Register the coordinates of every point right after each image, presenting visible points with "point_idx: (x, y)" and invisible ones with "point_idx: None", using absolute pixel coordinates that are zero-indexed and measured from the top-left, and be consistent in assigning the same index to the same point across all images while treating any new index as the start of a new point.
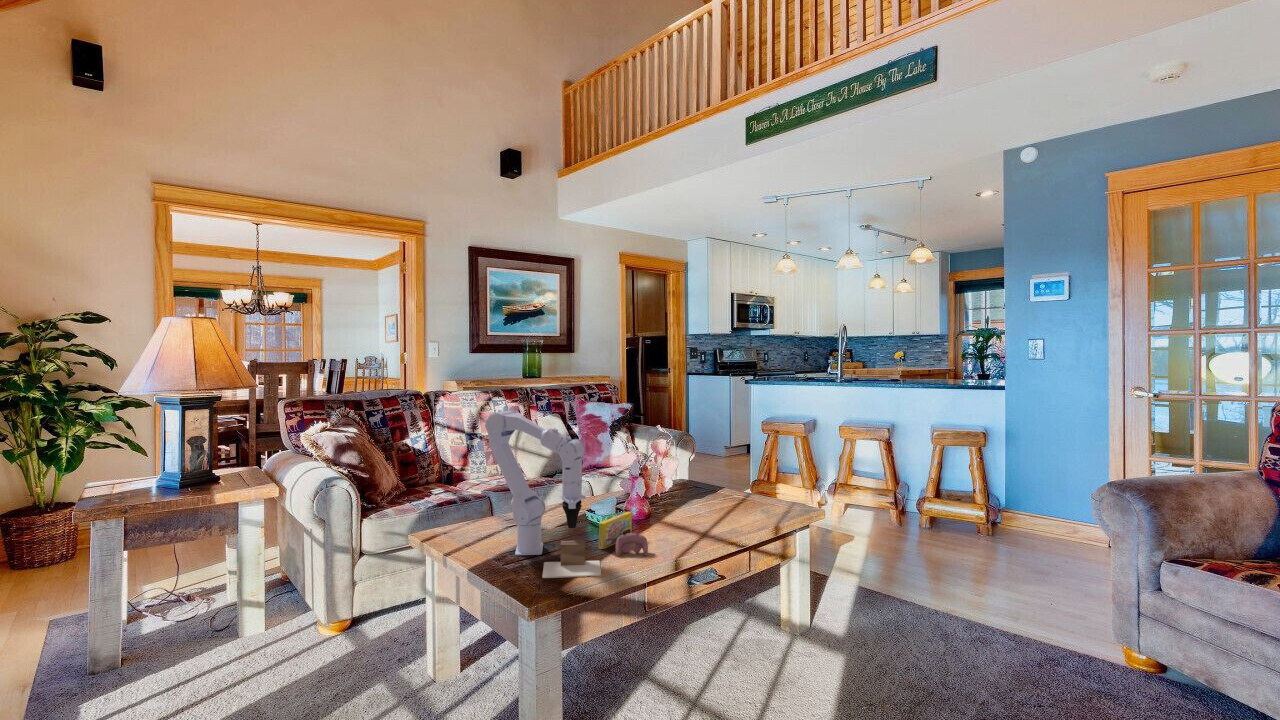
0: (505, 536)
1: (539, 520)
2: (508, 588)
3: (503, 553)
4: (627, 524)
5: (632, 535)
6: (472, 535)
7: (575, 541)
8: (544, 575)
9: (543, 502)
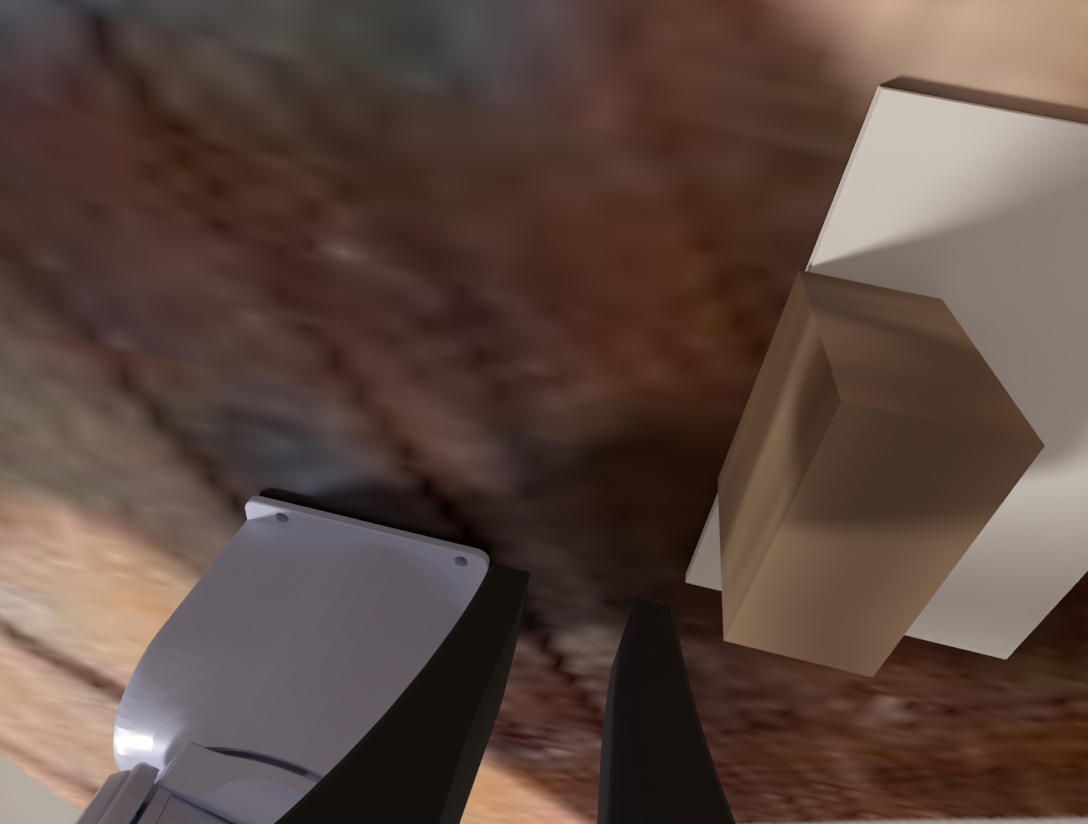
0: (101, 630)
1: (275, 796)
2: (1040, 806)
3: None
4: None
5: None
6: None
7: (829, 523)
8: (987, 643)
9: None
